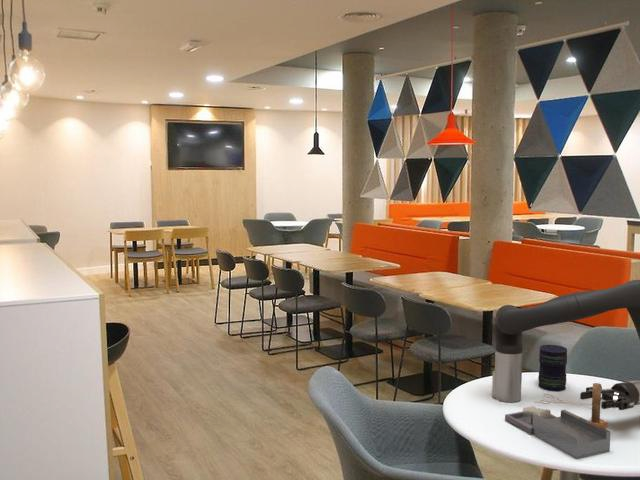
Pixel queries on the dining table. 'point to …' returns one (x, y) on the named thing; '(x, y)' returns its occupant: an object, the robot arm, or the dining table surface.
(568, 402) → the scissors
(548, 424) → the slot board
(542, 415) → the chip
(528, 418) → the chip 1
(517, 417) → the tray
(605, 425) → the wooden post on base
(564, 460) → the dining table surface
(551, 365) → the storage jar
